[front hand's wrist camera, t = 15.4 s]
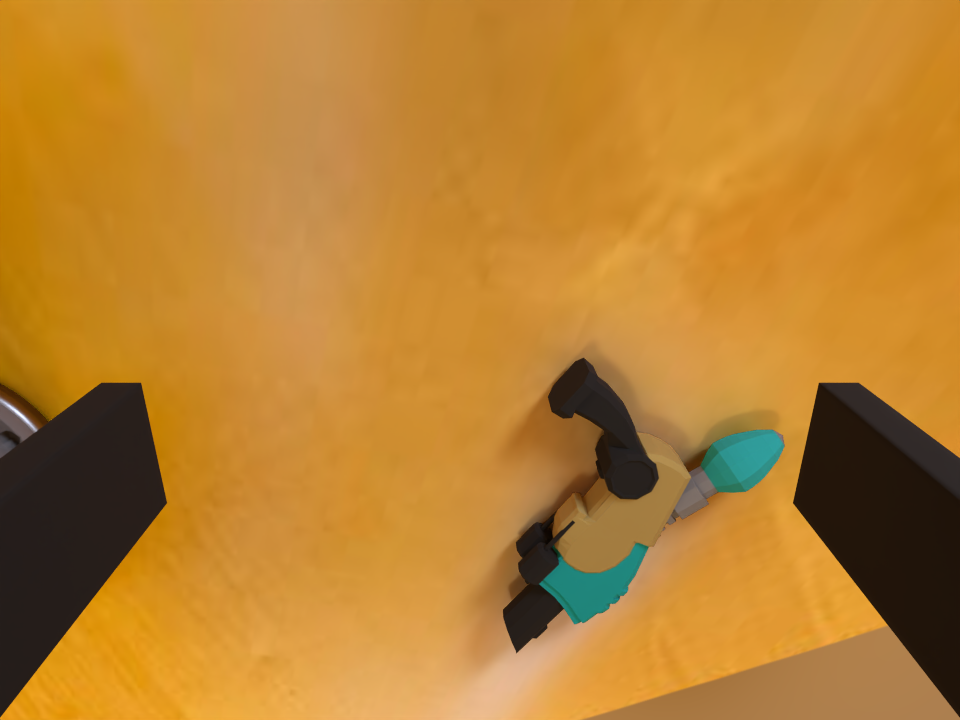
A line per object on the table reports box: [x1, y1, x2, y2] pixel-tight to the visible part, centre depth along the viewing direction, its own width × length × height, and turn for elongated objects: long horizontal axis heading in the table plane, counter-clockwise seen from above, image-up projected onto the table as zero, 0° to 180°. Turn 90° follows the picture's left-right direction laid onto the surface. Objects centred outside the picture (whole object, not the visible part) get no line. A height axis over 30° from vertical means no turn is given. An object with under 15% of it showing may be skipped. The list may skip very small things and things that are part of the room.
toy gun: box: [503, 358, 785, 653], centre depth 46 cm, size 4×26×15 cm
